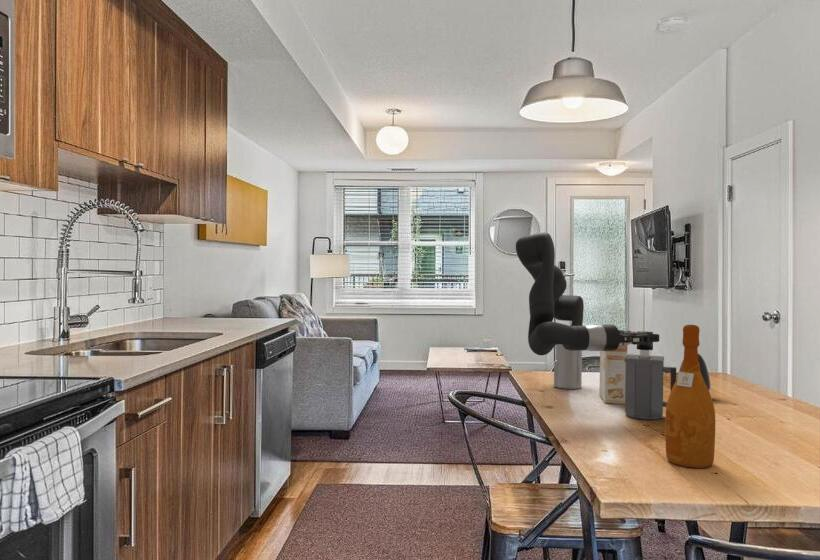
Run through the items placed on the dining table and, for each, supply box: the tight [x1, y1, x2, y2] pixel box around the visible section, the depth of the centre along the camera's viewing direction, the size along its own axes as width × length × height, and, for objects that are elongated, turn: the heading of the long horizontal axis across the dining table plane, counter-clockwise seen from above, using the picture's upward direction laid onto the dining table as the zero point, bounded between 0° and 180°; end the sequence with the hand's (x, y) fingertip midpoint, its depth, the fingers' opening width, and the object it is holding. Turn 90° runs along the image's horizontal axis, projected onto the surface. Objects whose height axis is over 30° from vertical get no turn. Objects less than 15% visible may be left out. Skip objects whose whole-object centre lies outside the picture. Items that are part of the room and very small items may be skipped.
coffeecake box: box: [598, 344, 628, 405], centre depth 198 cm, size 15×7×20 cm, turn 168°
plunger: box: [636, 330, 654, 358], centre depth 174 cm, size 8×8×23 cm
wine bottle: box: [664, 324, 716, 469], centre depth 131 cm, size 10×10×30 cm
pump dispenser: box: [677, 353, 711, 391], centre depth 201 cm, size 10×10×15 cm
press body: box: [624, 353, 677, 421], centre depth 173 cm, size 13×10×17 cm
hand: (653, 337), depth 174 cm, fingers closed on plunger, 4 cm apart
